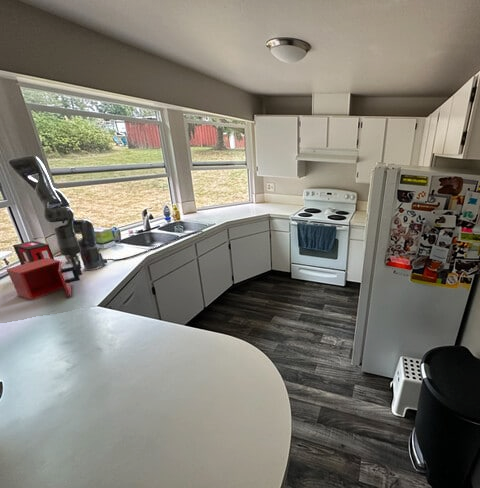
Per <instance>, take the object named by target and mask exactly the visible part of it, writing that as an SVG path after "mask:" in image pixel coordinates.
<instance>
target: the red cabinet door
mask: <svg viewBox="0 0 480 488" xmlns="http://www.w3.org/2000/svg"><path fill="white" fill-rule="evenodd" d="M58 272H59V275H60V278H61V280H62V283H63V285H64V288H63V289H64V290H65V293H66V296H67V298H68V299H69V298H72V284H71V283H75V282H78V281H79V282H80V280H81V278H80V275H79V276H77V275H76V272H75V269H74V267H73V266H69V267H65V266H64V263H63V261H60V262H59V270H58ZM69 272H72V275H73V277H69V276H68V273H69Z"/></svg>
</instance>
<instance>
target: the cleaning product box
mask: <svg viewBox="0 0 480 488" xmlns="http://www.w3.org/2000/svg"><path fill="white" fill-rule="evenodd" d="M12 247H13V249H14V251H15V255H16V256H17V258H18V261H19V263H20V265H23V264H27V263H30V262H34V261H37V260H41V259H45V258H49V259H53V260H55V257H54V255H53V253H52V249H51V247H50V245H49V244H48V243H45V242H40V241H37V240H36V241H35V240H30V241H25V242H21V243H16V244H13V245H12Z"/></svg>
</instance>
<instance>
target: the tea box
mask: <svg viewBox="0 0 480 488" xmlns="http://www.w3.org/2000/svg"><path fill="white" fill-rule="evenodd" d="M93 227H94V226H93ZM94 231H95V236H96V244H97V247H98V249H103V250H106V249H108V248H111V247H113V246H116V241H115V237H114V233H113V231H112V228H111V227H99V226H95V227H94Z"/></svg>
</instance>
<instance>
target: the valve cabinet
mask: <svg viewBox="0 0 480 488" xmlns="http://www.w3.org/2000/svg"><path fill="white" fill-rule="evenodd" d="M59 262H61V261H60V260H57V259H54V260H53V259H49V258H45V259H41V260H37V261H34V262H30V263H27V264H23V265H21V264H20V265H16V266H13V267H9V268H5V270H6V272H7V274H8V276H9V278H10V280H11V283H12V285H13V288H14V289H15V291H16V294H17V296H18V297H21V298H24V299H26V300H27V299H28V300H30V301H33V300H35V299H39V298H42V297H43V296H47V295H49V294H52V293H54V292H57V291H60V290H63V289H65V288H64V285H63V283H62V280H61V278H60V275H59V272H58V270H59Z"/></svg>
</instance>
